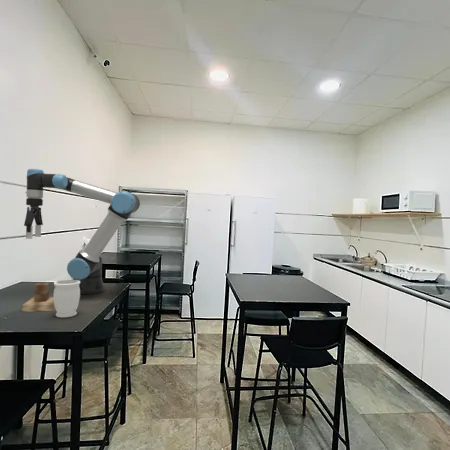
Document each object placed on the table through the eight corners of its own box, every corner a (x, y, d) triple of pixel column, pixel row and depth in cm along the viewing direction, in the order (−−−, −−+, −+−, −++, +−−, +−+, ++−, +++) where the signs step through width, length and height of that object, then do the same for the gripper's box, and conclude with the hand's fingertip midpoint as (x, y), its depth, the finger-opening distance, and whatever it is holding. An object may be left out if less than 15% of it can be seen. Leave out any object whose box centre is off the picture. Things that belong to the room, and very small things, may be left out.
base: (61, 302, 155) (61, 296, 155) (53, 310, 142) (53, 303, 142) (32, 303, 152) (32, 296, 152) (21, 311, 138) (21, 304, 138)
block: (49, 298, 150) (49, 282, 150) (45, 301, 145) (46, 284, 145) (37, 299, 148) (37, 282, 148) (34, 301, 144) (34, 285, 143)
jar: (51, 319, 130) (52, 285, 130) (54, 312, 140) (55, 280, 139) (79, 317, 134) (79, 283, 134) (79, 310, 144) (80, 279, 144)
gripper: (34, 198, 174) (33, 235, 175) (17, 196, 150) (16, 239, 151) (49, 199, 176) (48, 236, 177) (34, 197, 152) (33, 239, 152)
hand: (33, 237), depth 164 cm, fingers open, 13 cm apart
